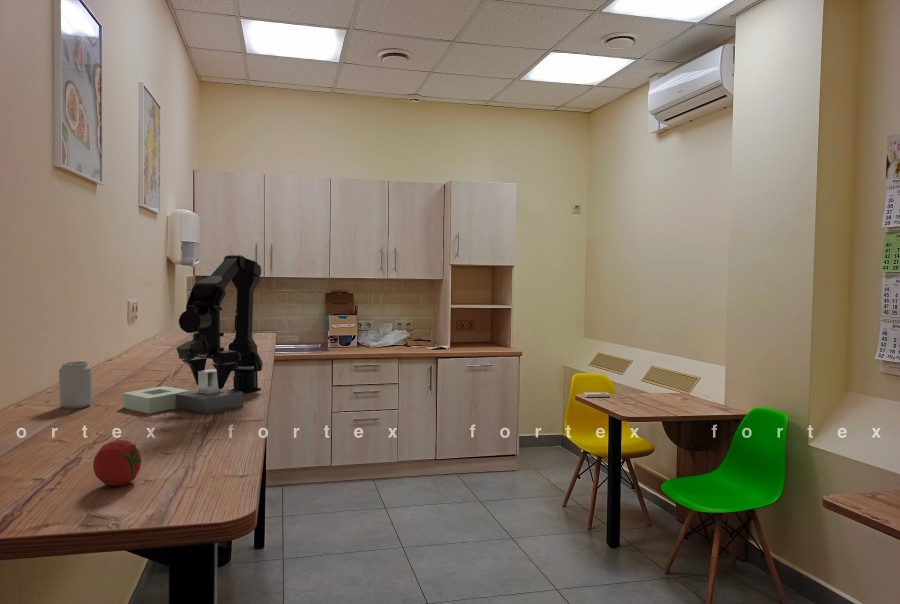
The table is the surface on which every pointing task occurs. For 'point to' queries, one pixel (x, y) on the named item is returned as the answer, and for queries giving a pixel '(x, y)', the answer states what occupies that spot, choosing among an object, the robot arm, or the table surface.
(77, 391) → the can
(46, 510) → the table surface
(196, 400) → the mount
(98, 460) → the tomato
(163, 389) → the dock
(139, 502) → the table surface
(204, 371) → the pin
